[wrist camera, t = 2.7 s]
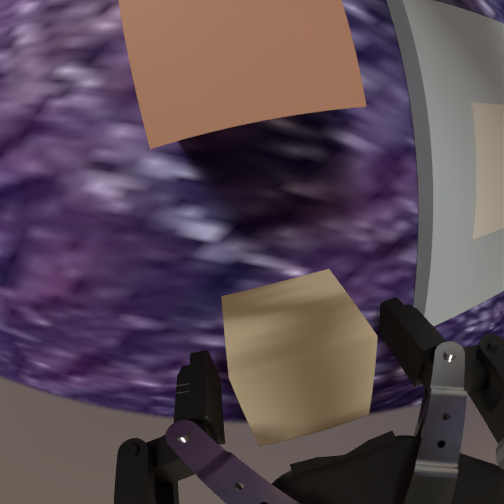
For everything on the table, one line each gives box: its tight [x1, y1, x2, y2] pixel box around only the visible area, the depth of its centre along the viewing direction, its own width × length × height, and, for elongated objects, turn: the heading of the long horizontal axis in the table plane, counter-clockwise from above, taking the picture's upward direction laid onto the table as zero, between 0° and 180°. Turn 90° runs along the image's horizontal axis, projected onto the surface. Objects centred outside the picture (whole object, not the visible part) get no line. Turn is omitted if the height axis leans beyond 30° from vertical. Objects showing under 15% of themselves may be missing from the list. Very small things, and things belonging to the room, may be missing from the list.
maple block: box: [221, 269, 378, 447], centre depth 12 cm, size 5×5×5 cm
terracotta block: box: [119, 0, 366, 149], centre depth 7 cm, size 5×5×5 cm
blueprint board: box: [386, 0, 504, 326], centre depth 12 cm, size 13×17×1 cm
